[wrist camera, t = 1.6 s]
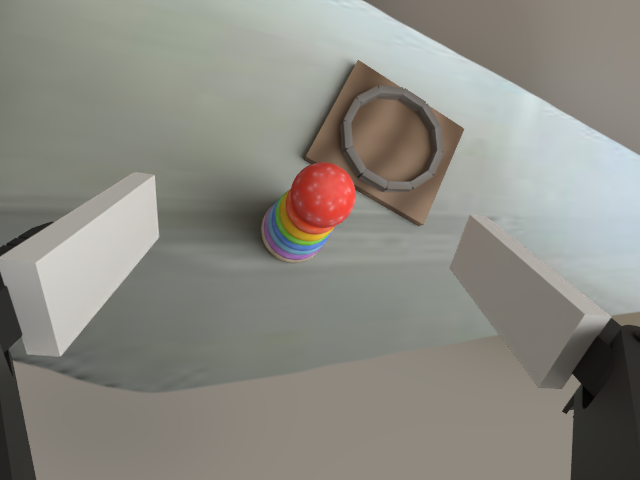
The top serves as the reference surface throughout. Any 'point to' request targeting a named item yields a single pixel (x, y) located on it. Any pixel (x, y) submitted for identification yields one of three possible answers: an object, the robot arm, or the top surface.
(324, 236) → the stacking toy
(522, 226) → the top surface
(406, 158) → the collar board
